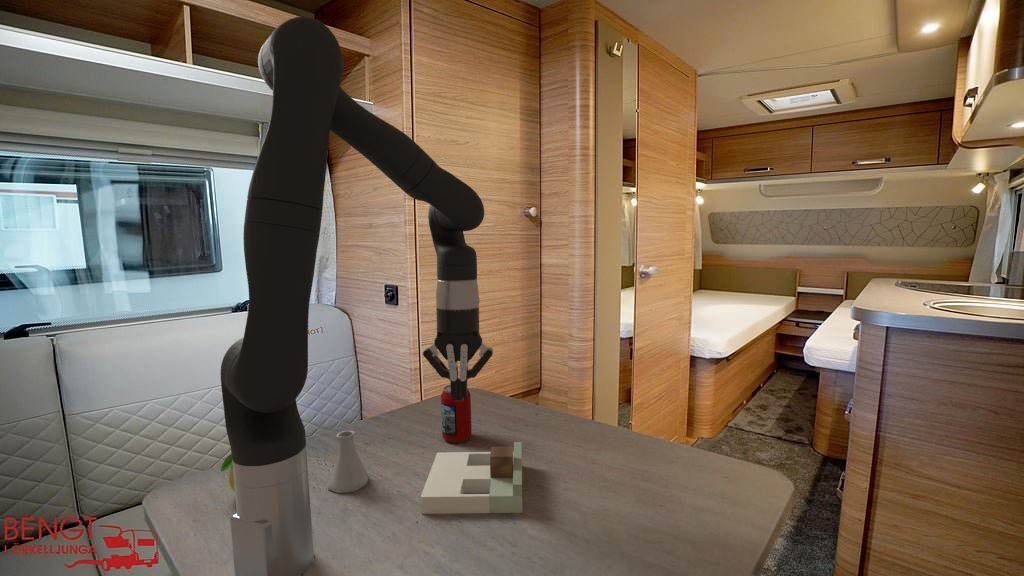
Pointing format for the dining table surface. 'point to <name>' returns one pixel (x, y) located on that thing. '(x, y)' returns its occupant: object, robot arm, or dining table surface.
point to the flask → (347, 466)
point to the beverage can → (455, 417)
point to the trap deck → (471, 485)
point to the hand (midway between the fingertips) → (459, 399)
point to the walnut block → (501, 462)
